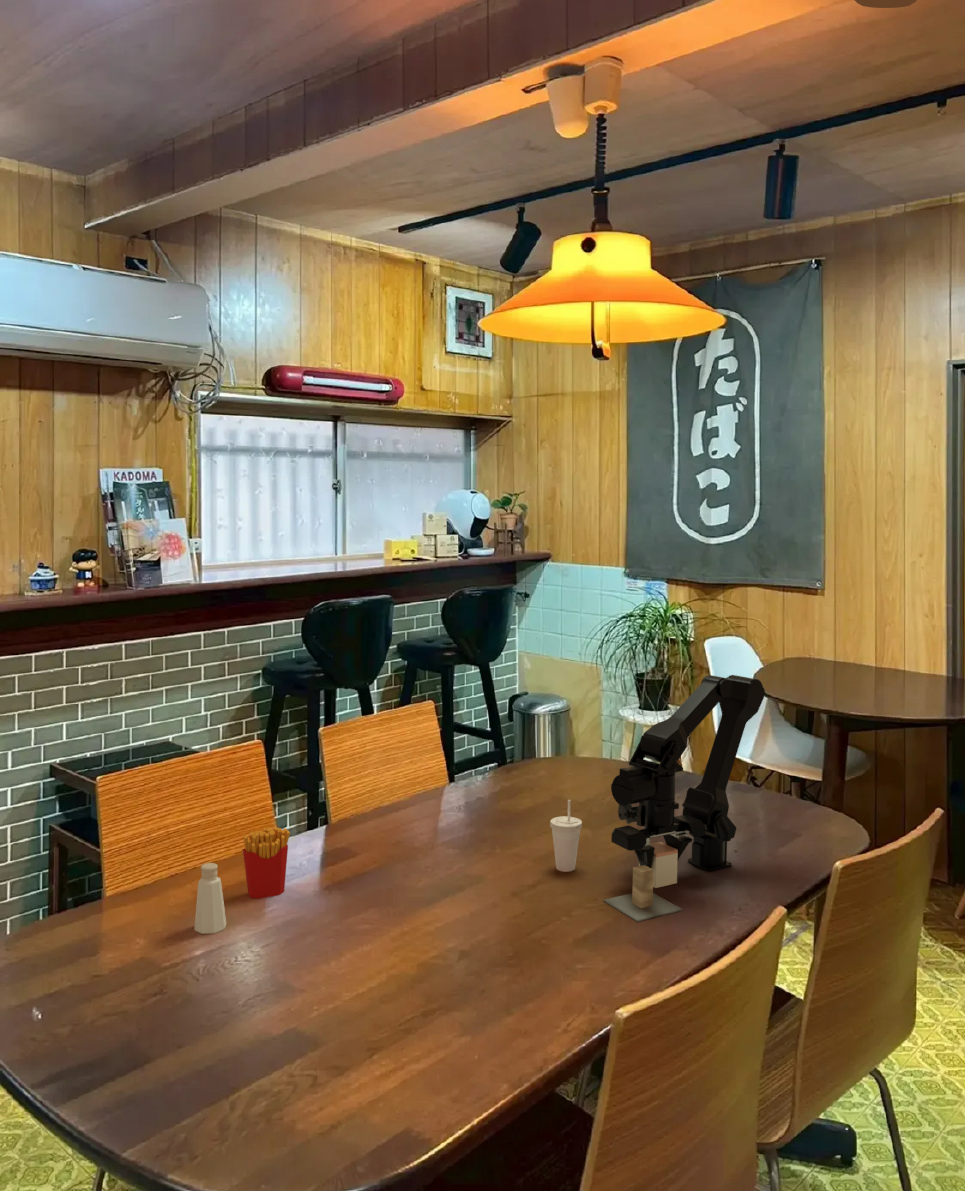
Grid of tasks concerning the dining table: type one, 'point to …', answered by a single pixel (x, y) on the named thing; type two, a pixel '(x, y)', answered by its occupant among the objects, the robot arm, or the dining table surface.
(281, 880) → the french fries
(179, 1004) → the dining table surface
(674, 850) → the cream orange-topped box
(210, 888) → the pepper shaker
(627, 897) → the grey flat square slab
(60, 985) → the dining table surface
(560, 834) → the smoothie
